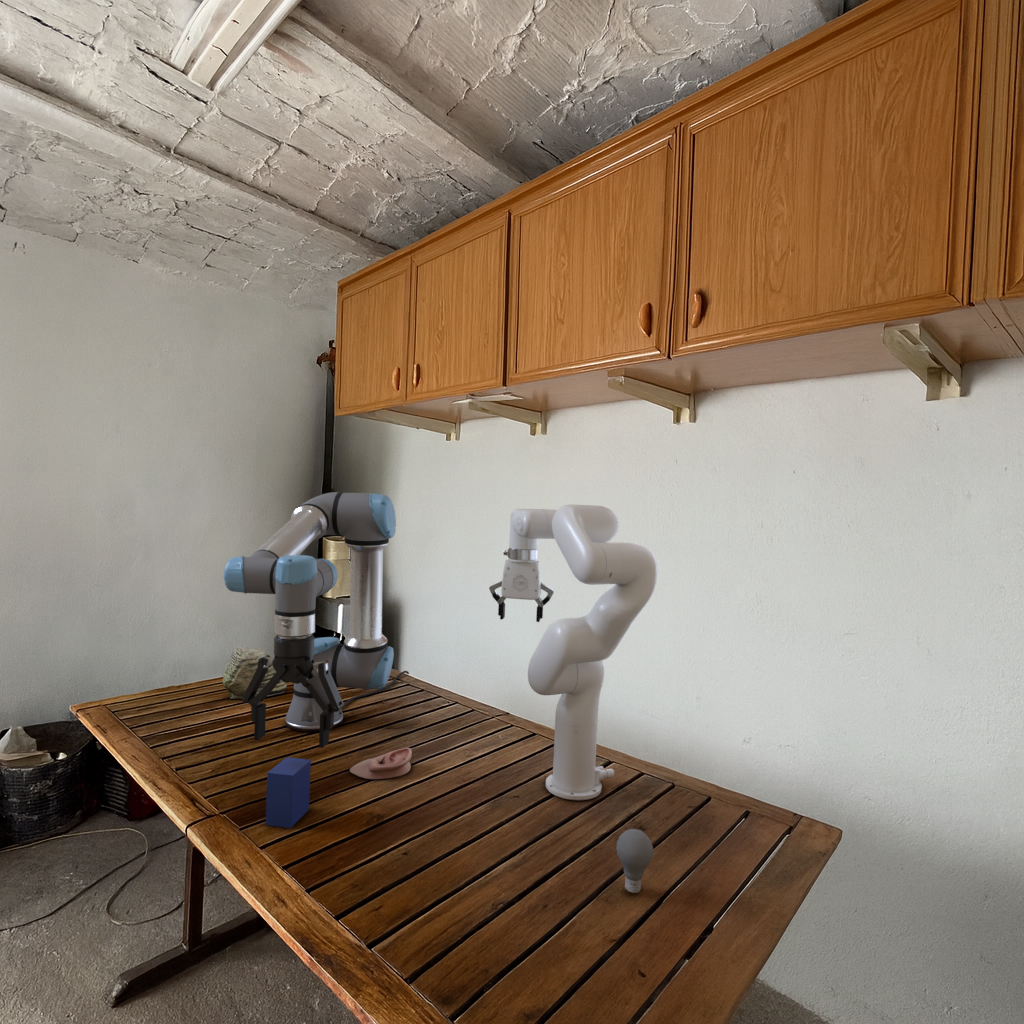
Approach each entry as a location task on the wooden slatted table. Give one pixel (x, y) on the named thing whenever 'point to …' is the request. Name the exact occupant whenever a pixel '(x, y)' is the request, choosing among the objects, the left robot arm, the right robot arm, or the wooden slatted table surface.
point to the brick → (288, 792)
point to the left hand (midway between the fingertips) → (291, 741)
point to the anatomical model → (384, 765)
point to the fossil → (247, 672)
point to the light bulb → (634, 857)
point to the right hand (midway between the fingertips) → (520, 619)
